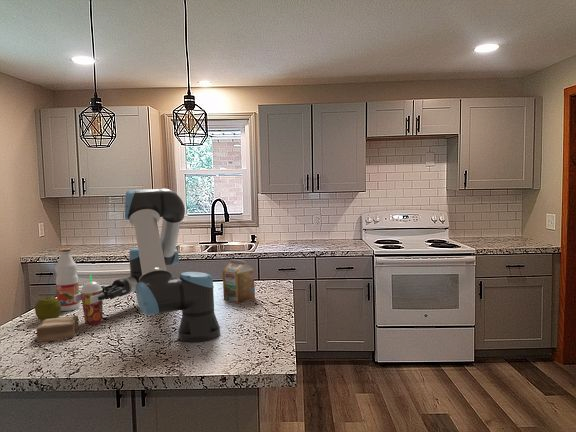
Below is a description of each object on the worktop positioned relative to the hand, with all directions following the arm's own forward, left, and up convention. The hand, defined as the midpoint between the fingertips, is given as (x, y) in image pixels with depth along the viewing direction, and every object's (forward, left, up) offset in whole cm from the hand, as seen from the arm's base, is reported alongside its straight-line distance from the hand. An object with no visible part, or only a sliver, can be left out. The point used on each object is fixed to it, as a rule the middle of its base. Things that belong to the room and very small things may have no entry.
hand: (82, 299), depth 179 cm
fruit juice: (+32, +11, -11) cm, 35 cm away
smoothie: (+4, -3, -11) cm, 12 cm away
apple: (+15, +16, -11) cm, 24 cm away
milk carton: (+16, -66, -11) cm, 69 cm away
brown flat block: (-7, +8, -11) cm, 15 cm away
